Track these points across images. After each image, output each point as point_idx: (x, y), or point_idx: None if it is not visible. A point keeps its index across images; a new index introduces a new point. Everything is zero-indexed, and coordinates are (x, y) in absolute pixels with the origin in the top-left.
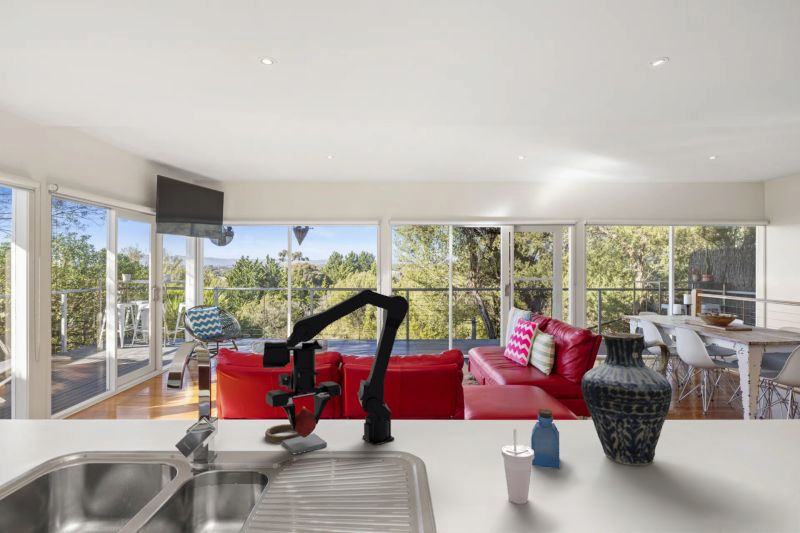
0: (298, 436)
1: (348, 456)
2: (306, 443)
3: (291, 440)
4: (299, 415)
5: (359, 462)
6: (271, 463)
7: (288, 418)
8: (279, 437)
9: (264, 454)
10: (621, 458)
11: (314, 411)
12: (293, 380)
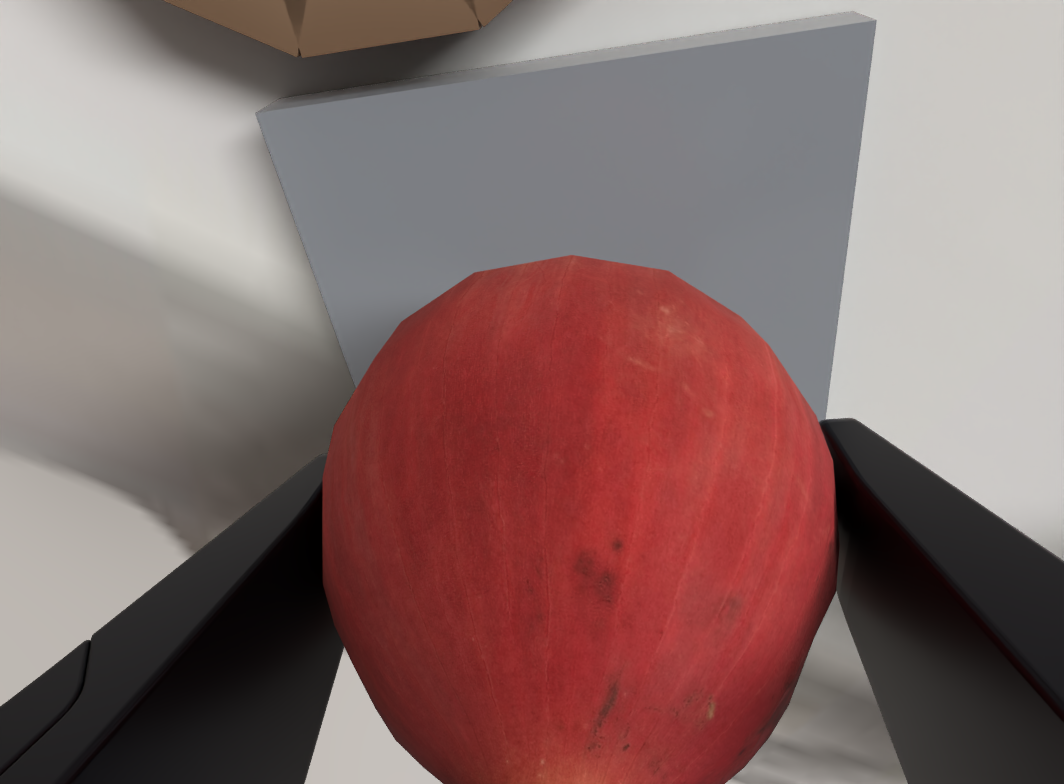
0: None
1: (839, 666)
2: None
3: (401, 185)
4: (406, 747)
5: (839, 748)
6: (194, 524)
7: (156, 597)
8: (186, 8)
9: (80, 319)
10: None
11: (952, 616)
12: None
